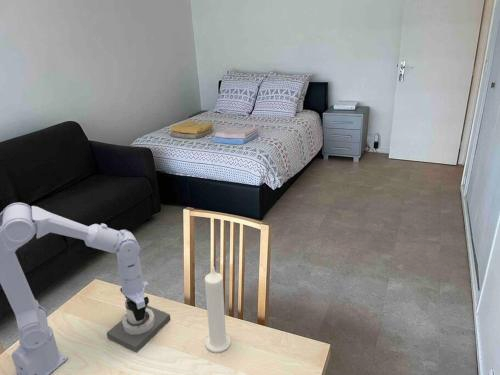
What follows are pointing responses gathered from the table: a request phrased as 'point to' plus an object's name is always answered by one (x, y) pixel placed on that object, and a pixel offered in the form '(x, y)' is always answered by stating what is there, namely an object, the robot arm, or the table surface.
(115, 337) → the camera body
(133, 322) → the lens
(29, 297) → the robot arm
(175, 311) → the table surface
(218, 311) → the candle
